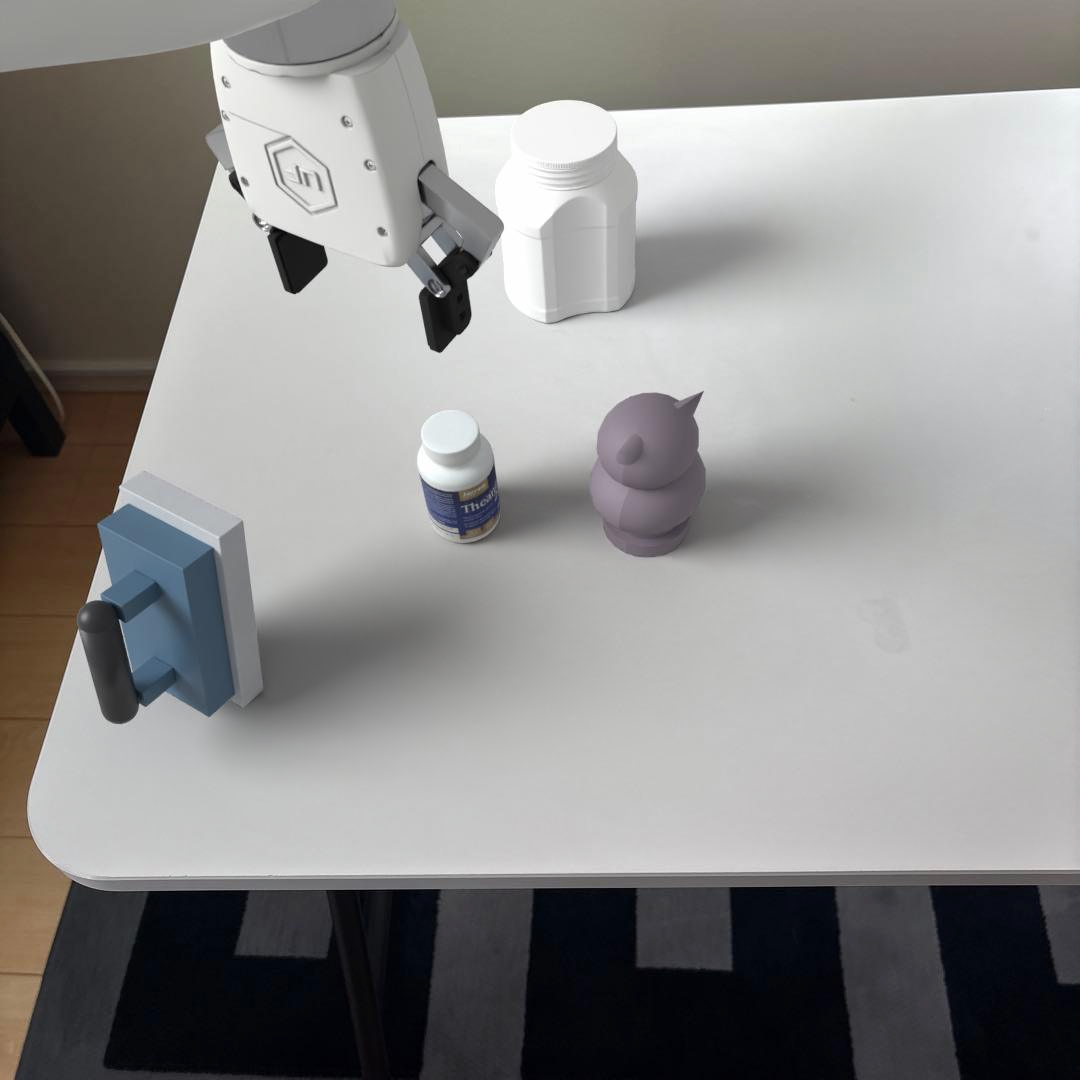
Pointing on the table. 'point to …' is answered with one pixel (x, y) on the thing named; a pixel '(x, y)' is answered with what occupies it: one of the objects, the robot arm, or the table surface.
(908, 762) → the table surface
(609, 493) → the mauve rounded figurine
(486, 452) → the pill bottle
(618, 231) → the jar
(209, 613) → the scrub brush
